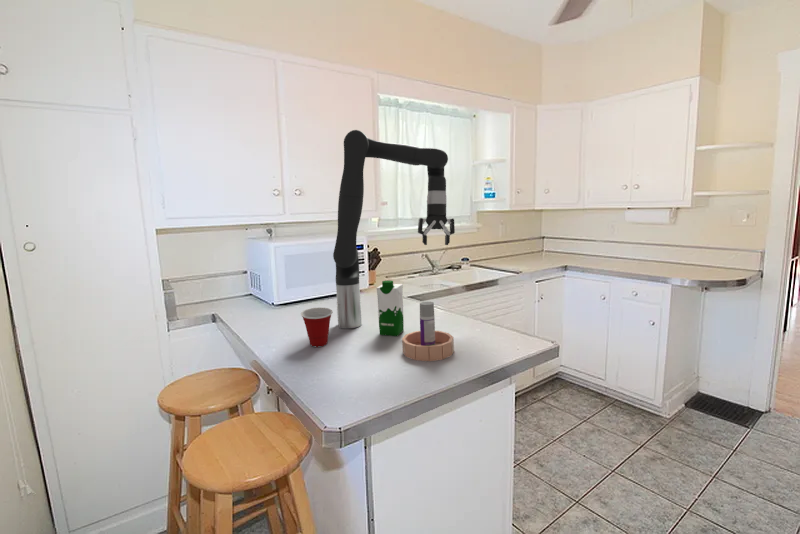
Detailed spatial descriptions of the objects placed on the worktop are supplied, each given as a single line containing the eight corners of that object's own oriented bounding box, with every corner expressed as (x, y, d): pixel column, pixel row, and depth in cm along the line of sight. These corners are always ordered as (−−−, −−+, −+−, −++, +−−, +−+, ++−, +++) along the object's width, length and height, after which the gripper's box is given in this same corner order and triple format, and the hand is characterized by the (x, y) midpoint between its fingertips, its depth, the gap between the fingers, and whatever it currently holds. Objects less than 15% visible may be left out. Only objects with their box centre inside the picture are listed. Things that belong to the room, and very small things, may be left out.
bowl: (410, 363, 120) (410, 349, 120) (398, 346, 136) (397, 333, 135) (460, 357, 124) (460, 343, 123) (443, 340, 139) (443, 328, 139)
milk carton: (376, 335, 148) (373, 282, 145) (385, 328, 156) (383, 277, 153) (399, 337, 145) (396, 283, 142) (406, 329, 153) (404, 278, 150)
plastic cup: (307, 352, 133) (305, 317, 132) (299, 343, 143) (297, 310, 141) (338, 346, 138) (336, 312, 137) (329, 337, 148) (327, 305, 146)
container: (420, 346, 132) (418, 301, 130) (434, 345, 132) (432, 300, 130) (421, 351, 127) (420, 305, 125) (436, 350, 128) (435, 304, 126)
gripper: (420, 202, 152) (420, 245, 153) (457, 203, 154) (456, 245, 155) (416, 203, 159) (416, 244, 160) (451, 204, 161) (450, 244, 163)
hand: (436, 244), depth 158 cm, fingers open, 8 cm apart
